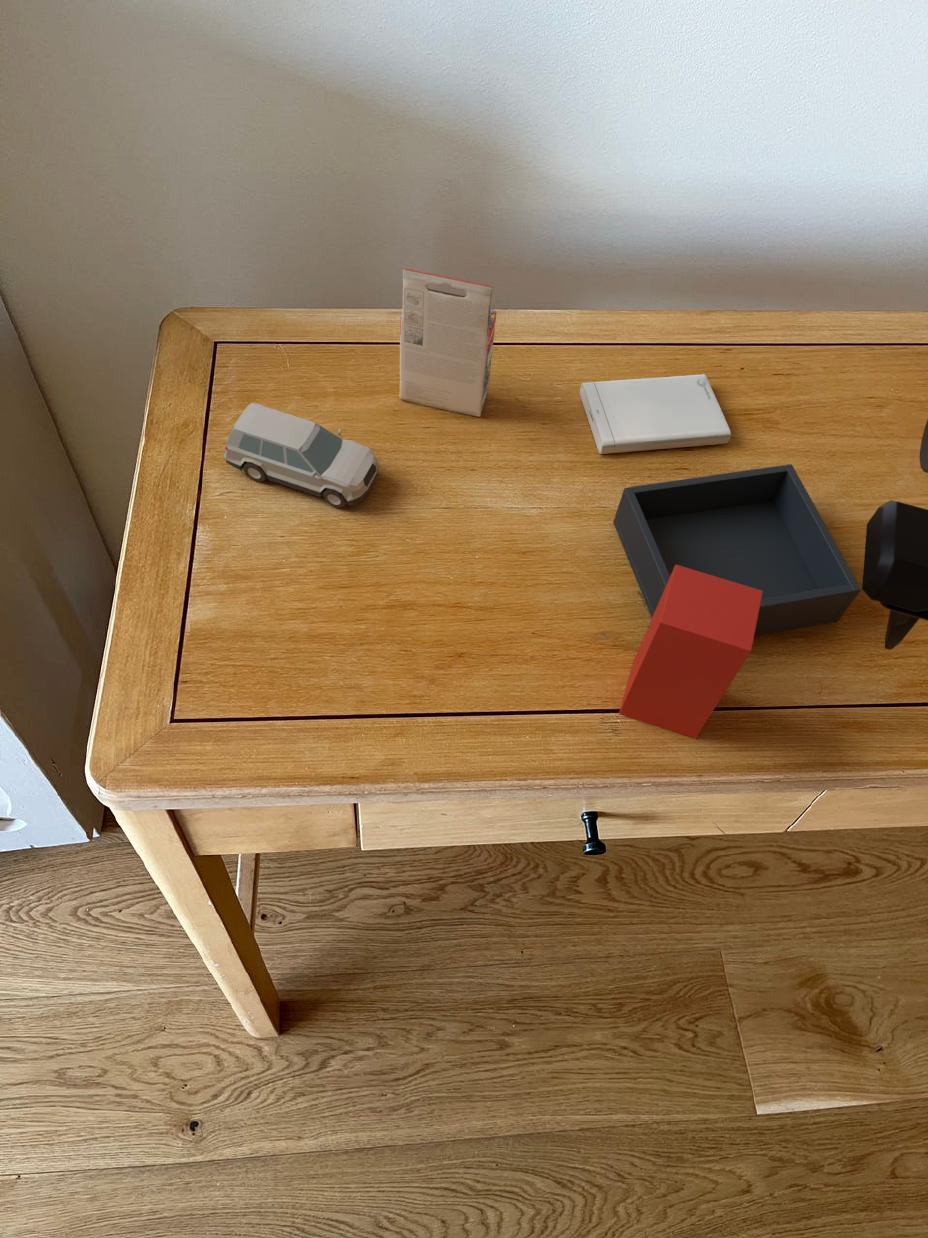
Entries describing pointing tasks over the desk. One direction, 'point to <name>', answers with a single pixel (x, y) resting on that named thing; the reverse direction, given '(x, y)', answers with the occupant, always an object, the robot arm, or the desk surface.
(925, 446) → the robot arm
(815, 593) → the dark gray tray
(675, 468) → the desk surface
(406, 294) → the ink box
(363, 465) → the toy car
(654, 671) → the package
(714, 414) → the hard drive
